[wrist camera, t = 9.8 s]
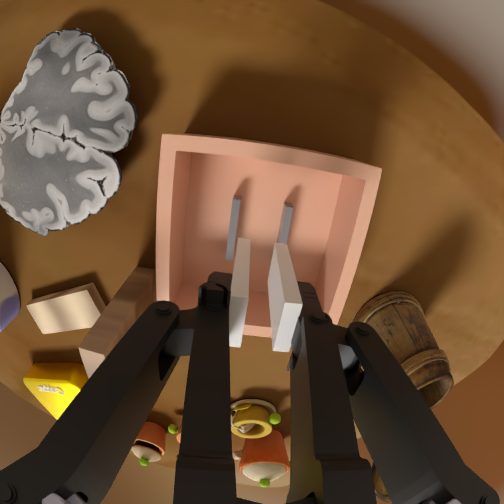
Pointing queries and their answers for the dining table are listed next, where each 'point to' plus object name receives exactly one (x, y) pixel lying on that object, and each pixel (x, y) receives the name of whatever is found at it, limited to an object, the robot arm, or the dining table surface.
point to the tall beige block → (118, 317)
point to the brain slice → (64, 133)
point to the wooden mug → (408, 350)
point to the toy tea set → (242, 424)
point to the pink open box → (259, 218)
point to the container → (7, 298)
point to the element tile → (56, 384)
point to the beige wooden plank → (67, 309)
